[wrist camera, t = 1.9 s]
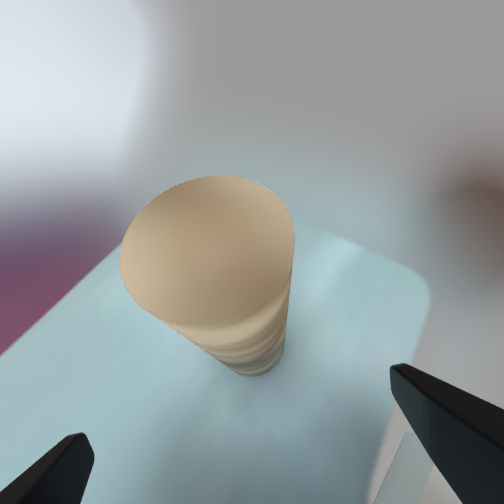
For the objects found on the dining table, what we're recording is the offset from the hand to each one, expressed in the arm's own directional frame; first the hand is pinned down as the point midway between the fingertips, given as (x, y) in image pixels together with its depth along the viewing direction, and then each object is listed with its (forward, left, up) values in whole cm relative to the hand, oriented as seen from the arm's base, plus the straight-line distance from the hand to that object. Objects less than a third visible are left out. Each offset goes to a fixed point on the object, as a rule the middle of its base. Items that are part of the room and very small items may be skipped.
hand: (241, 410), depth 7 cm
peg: (+3, +3, -11) cm, 12 cm away
